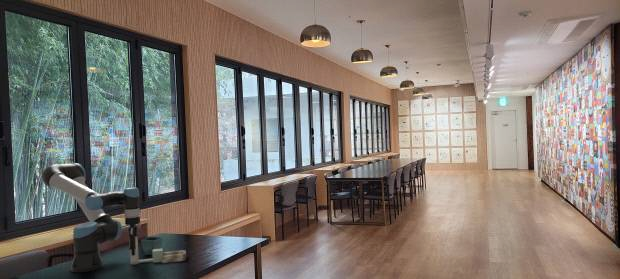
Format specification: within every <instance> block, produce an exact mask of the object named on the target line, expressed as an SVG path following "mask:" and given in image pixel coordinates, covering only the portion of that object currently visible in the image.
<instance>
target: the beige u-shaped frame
mask: <svg viewBox="0 0 620 279" xmlns="http://www.w3.org/2000/svg"><path fill="white" fill-rule="evenodd" d="M185 261H187V250H186V249H183V250H173V251H165V252H164V251H163V256H162V262H161V263H162V264H167V263H168V264H169V263H175V262H185Z"/></svg>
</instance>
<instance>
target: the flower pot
mask: <svg viewBox="0 0 620 279" xmlns="http://www.w3.org/2000/svg"><path fill="white" fill-rule="evenodd" d="M140 242H141V247H142V250H143V252H144V254H145V255H148V256H149V255H151V256H152V251H153V249H162V245H163V244H162V243H163V236H147V237H146V238H144V239H140Z"/></svg>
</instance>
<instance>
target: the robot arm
mask: <svg viewBox="0 0 620 279" xmlns="http://www.w3.org/2000/svg"><path fill="white" fill-rule="evenodd" d="M86 177H87V176H86V170H85V168H84V166H82V164H80V163H76V162H69V163H59V164H58V163H57V164H52V165H49V166H46V168H45V169H44V170H43V171H42V174H41V179H42V181H43V183H44V185H46V186H47V187H49V188H51V189H52V190H56V189H57V190H59V191H61V192H63V193H65V194H67V195H69V196H71V197H72V198H74V199H75V201H76V202H77V204H78V206H79V207H80V208H81V210H82V212H83V213H84V214H85V216H86V218H87V219H88V221H87V222H84V223H80V224H77V225H76V226H74V227H73V234H72V239H73V253H74V254H73V259H72V262H71V265H70V271H71V272H72V273H87V272H88V273H89V272H92V271H97V270H99V269H102V268H103V267H104V262H103V261H104V260H103V258H102V257H101V253H100V250H99V248H100V247H99V246H101V245H105V244H108V243H112V242H114V241H117V240H118V239H119V238H120V237H121V235H122V230H123V226H122V224H121V221H120V220H119V219H116V218H114V219H113V218H112V216H111V215H110V214H109V213H105V211H104V209H106V208H111V207H117V206H124V224H125V225H126V226H129V228H128V234H129V238H130V241H129V248H128V250H129V251H130V250H131V262H133V261H137V258H136V243H135V237H137V238H138V226H137V225H139V224H141V216H140V215H141V214H140V213H141V212H142V210H141V209H140V207H141V206H140V190H139V188H138V187H127V188H126V187H125V188H124V189H123V191H116V190H113V191H109V192H106V193H98V192H97V191H94V190H92V189H91V188H89V187H88V185H87V184H86V183H85V182H86ZM131 262H130V263H131Z"/></svg>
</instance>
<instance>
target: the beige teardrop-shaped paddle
mask: <svg viewBox="0 0 620 279" xmlns="http://www.w3.org/2000/svg"><path fill="white" fill-rule="evenodd" d="M128 242H130V238H129V240H128ZM138 242H139V241H138V236H137V237H135V243H136V258H137V261H133V262H131V250H129V258H130V259H129V260H130V262H129V263H130V265H138V264H139V263H145V262H152V263H154V264H155V263H163V262H162V256H163V252H164V250H163V248H162V247H161V249H153V251H152V255H151V256H152V258H146V259H139V243H138Z"/></svg>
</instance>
